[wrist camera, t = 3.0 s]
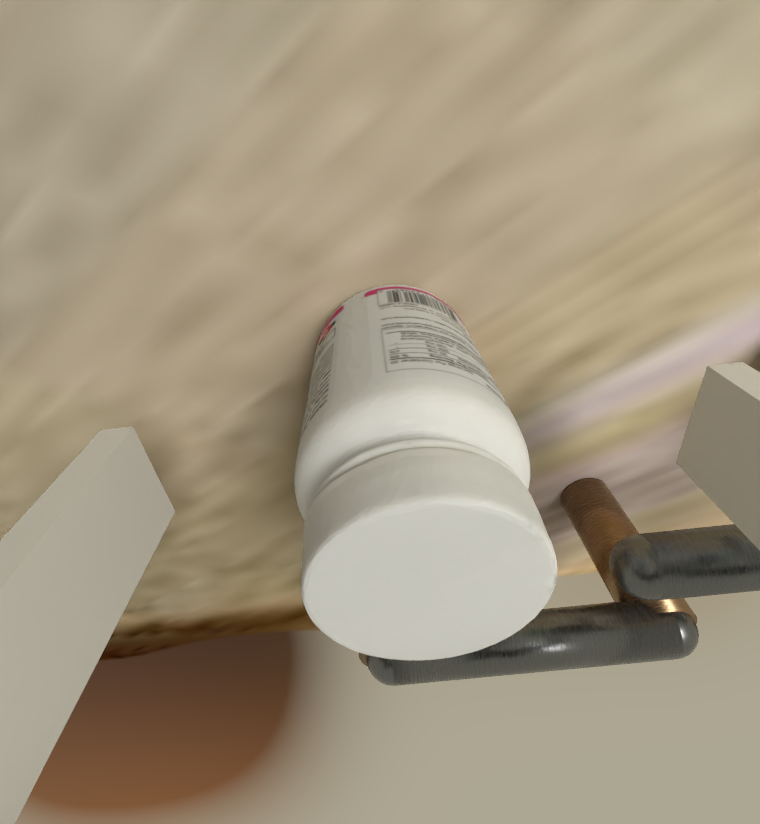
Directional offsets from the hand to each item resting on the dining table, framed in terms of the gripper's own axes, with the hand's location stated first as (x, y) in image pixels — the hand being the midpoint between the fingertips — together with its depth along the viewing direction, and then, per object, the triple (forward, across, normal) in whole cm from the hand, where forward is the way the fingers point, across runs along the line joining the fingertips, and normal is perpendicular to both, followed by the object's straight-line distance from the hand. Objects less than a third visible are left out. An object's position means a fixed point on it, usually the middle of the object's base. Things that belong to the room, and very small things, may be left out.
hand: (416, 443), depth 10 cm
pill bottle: (+4, 0, 0) cm, 4 cm away
